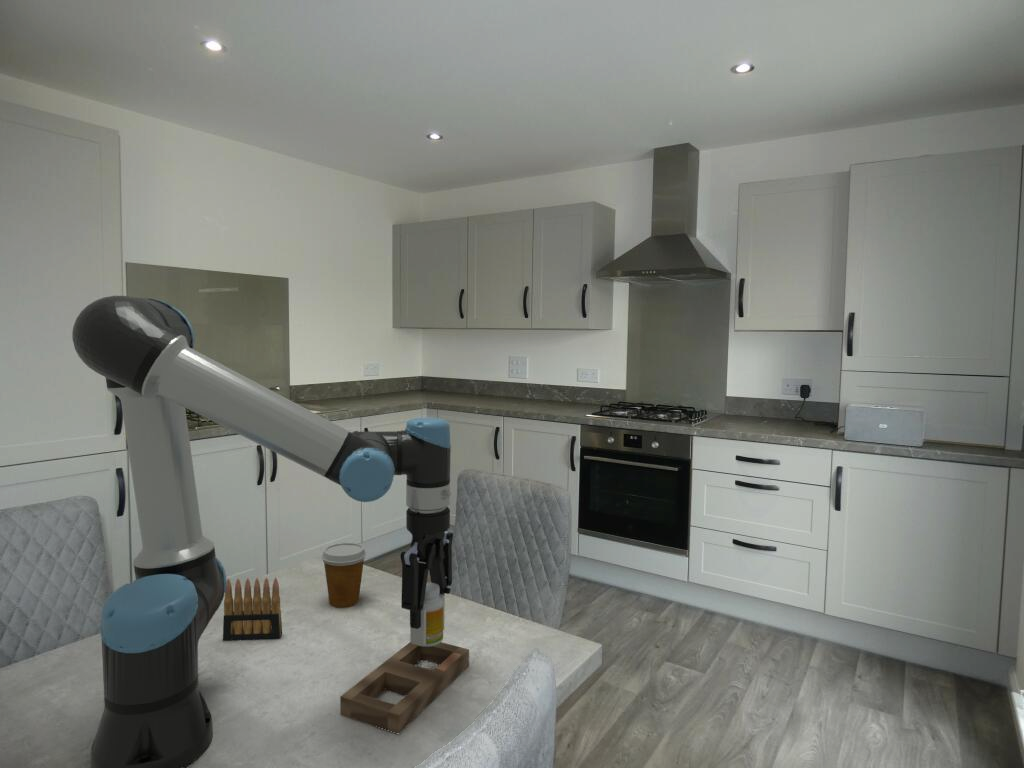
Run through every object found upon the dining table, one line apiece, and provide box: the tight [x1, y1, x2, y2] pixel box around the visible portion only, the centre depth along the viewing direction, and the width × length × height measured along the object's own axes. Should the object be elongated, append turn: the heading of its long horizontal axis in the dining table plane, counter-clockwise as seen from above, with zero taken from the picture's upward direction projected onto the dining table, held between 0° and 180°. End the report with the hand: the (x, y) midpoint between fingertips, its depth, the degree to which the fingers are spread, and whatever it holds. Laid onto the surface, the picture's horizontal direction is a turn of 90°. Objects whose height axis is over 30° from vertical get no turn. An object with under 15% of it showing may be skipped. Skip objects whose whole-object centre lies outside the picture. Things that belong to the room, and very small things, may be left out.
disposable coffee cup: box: [321, 542, 367, 609], centre depth 139 cm, size 10×10×12 cm
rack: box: [339, 641, 470, 734], centre depth 106 cm, size 22×11×3 cm, turn 155°
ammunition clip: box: [222, 577, 283, 642], centre depth 122 cm, size 11×2×12 cm, turn 97°
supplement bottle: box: [418, 582, 444, 647], centre depth 111 cm, size 5×5×10 cm
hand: (427, 635), depth 111 cm, fingers closed on supplement bottle, 5 cm apart
